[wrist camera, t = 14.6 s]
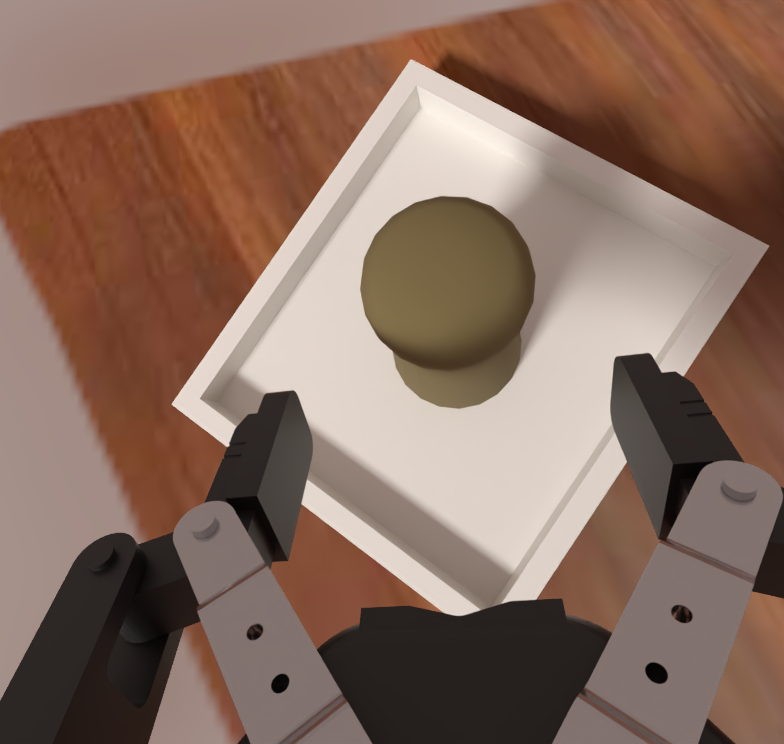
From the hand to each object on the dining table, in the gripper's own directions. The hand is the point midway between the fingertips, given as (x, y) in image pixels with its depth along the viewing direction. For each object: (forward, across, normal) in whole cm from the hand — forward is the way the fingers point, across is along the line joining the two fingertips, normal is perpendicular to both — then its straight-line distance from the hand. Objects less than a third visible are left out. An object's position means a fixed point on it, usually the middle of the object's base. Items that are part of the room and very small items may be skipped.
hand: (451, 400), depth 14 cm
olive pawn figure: (+11, 0, +6) cm, 12 cm away
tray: (+11, 0, +6) cm, 13 cm away
